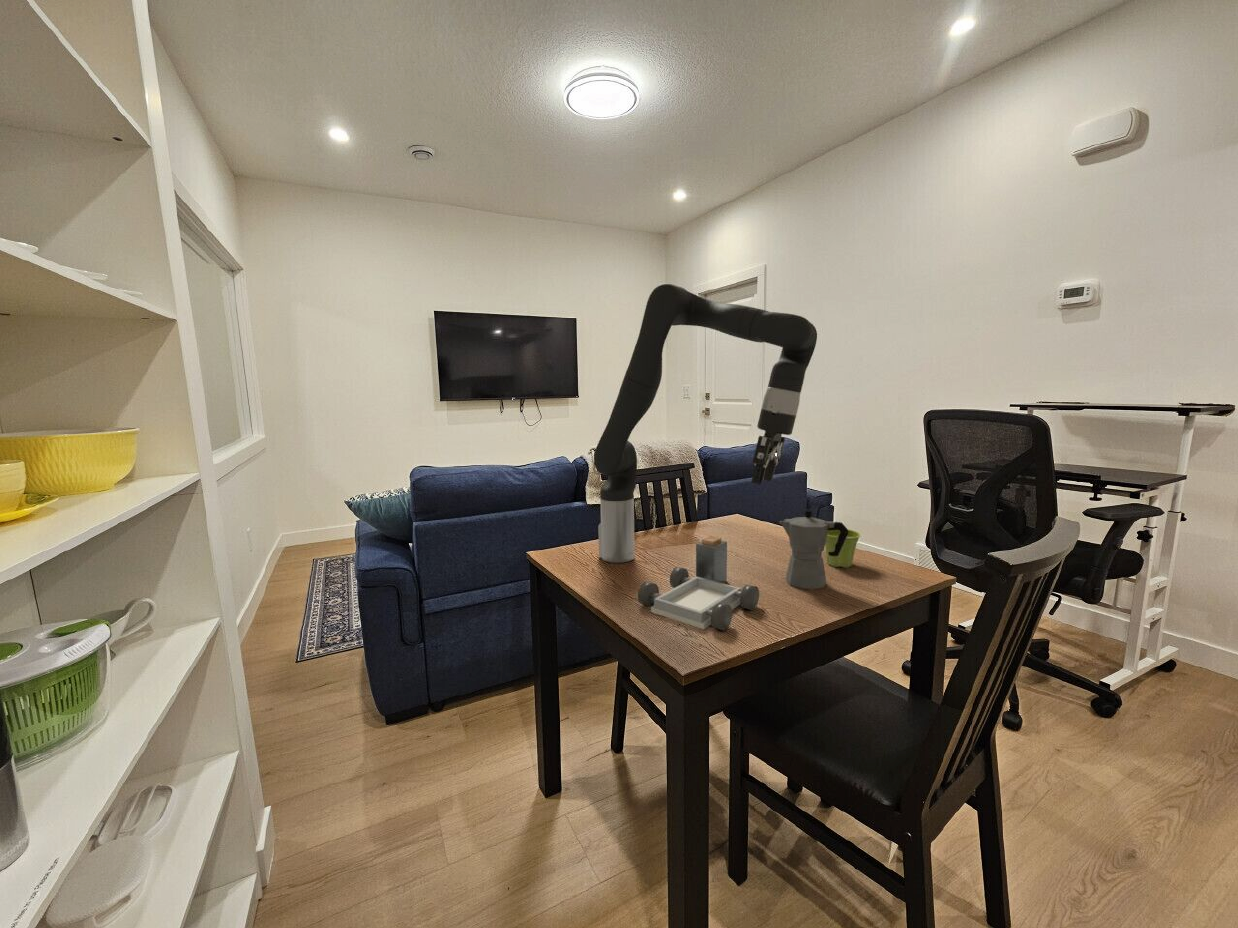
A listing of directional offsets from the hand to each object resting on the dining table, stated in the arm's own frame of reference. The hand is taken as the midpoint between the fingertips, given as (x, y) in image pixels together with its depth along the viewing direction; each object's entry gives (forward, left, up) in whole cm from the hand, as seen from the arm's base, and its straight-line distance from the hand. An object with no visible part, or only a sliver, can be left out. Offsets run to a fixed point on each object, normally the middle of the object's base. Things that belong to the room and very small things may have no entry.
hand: (761, 481), depth 115 cm
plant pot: (+8, +30, -26) cm, 41 cm away
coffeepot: (+7, +12, -26) cm, 30 cm away
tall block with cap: (-12, -2, -26) cm, 28 cm away
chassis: (-7, -16, -26) cm, 31 cm away
